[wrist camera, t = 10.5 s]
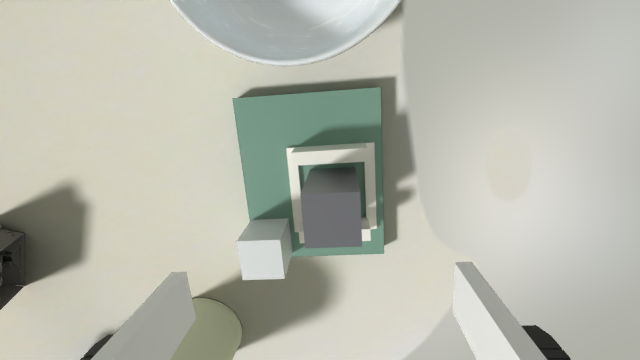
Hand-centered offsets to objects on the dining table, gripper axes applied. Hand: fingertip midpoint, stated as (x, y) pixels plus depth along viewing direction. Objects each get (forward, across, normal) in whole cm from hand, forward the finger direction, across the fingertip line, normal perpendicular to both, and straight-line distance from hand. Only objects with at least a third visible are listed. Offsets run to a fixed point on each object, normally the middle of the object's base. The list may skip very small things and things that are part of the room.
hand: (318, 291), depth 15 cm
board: (+19, -2, +1) cm, 19 cm away
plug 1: (+17, -6, -5) cm, 19 cm away
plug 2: (+17, 0, 0) cm, 17 cm away
